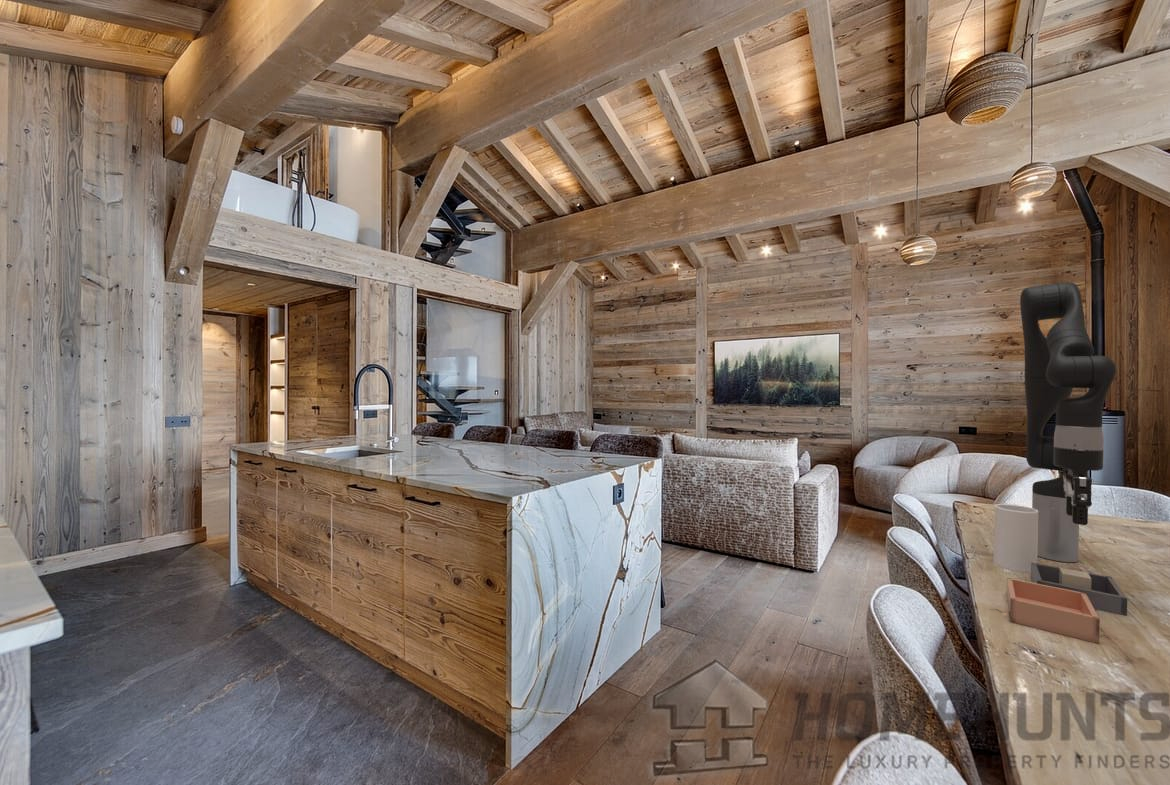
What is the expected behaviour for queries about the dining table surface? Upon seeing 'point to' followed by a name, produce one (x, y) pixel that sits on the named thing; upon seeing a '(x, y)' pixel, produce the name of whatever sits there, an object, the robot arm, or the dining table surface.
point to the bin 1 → (1052, 609)
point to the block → (1074, 578)
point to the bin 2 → (1101, 594)
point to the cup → (1015, 537)
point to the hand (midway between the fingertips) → (1076, 519)
